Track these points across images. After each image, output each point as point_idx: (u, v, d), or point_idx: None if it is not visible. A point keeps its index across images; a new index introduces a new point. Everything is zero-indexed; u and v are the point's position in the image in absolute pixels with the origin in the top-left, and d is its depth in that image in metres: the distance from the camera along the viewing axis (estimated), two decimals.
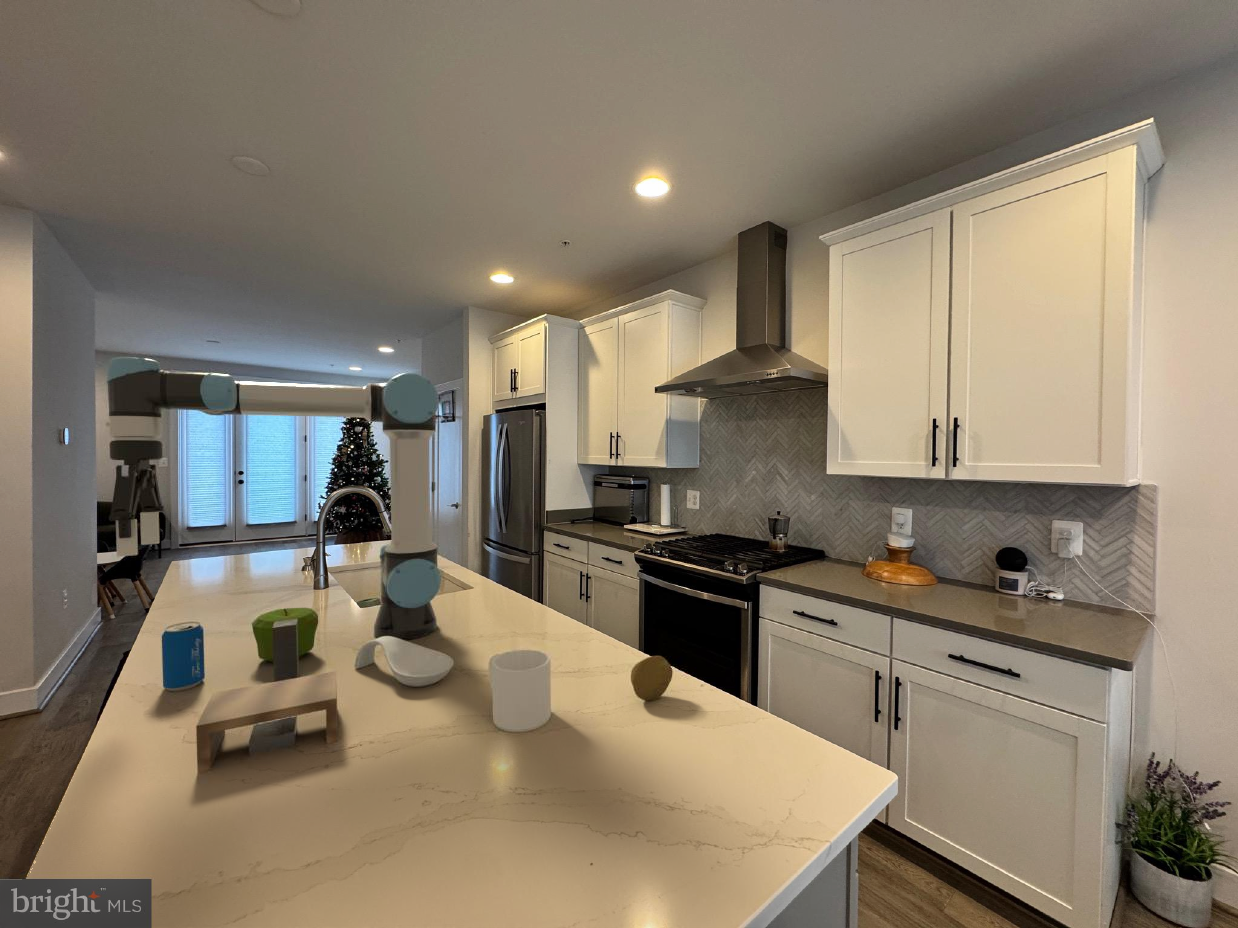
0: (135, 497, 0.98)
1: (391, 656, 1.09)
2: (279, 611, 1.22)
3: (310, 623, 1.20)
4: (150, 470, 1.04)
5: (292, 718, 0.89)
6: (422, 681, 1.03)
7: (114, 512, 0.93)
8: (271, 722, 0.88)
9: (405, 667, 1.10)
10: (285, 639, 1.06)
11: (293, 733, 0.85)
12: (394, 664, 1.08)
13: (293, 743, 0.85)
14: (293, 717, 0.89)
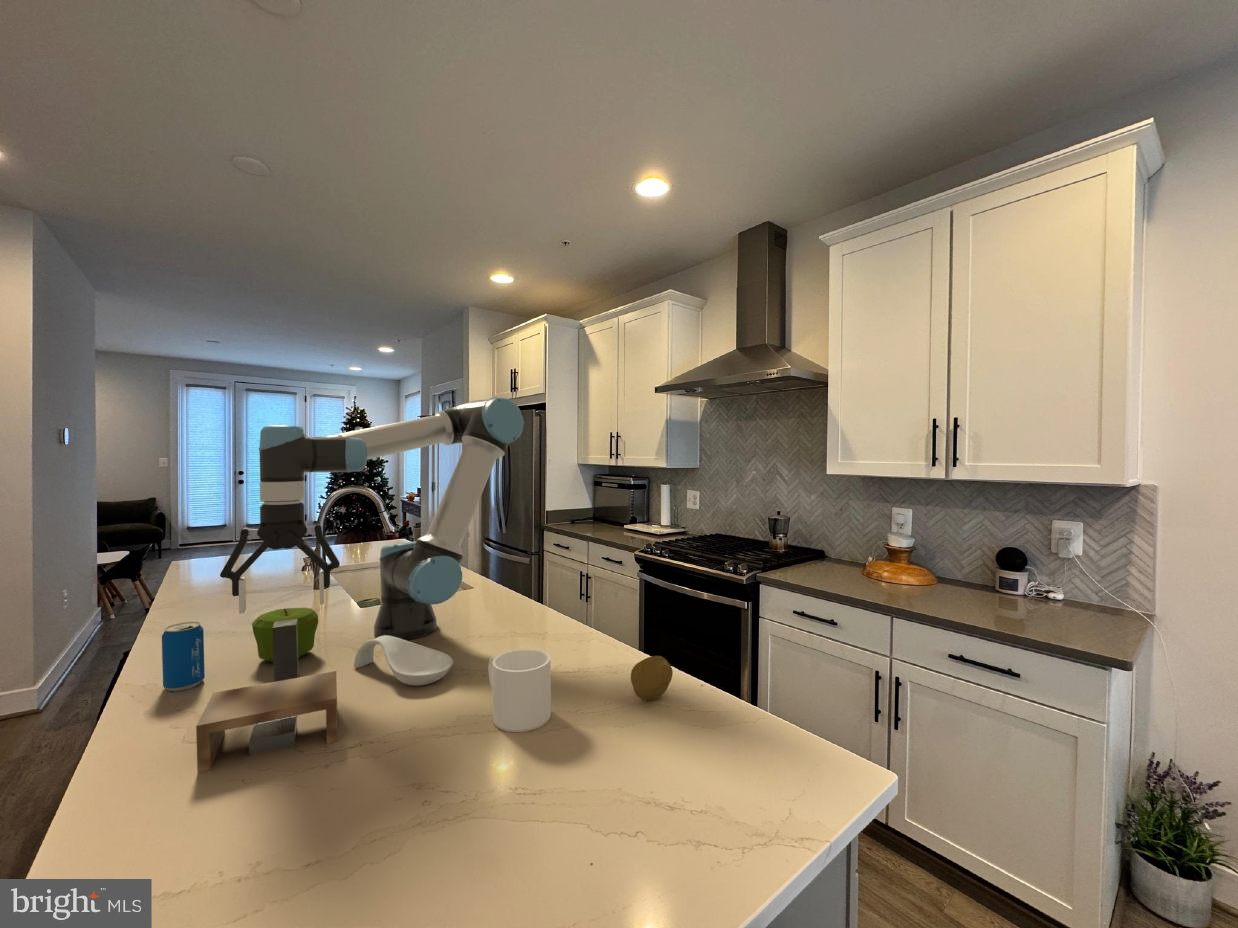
0: (247, 559, 1.04)
1: (391, 655, 1.09)
2: (279, 611, 1.22)
3: (310, 623, 1.20)
4: (287, 533, 1.06)
5: (292, 718, 0.89)
6: (422, 680, 1.04)
7: None
8: (271, 722, 0.88)
9: (405, 666, 1.10)
10: (285, 639, 1.06)
11: (293, 733, 0.85)
12: (394, 663, 1.08)
13: (293, 743, 0.85)
14: (293, 717, 0.89)
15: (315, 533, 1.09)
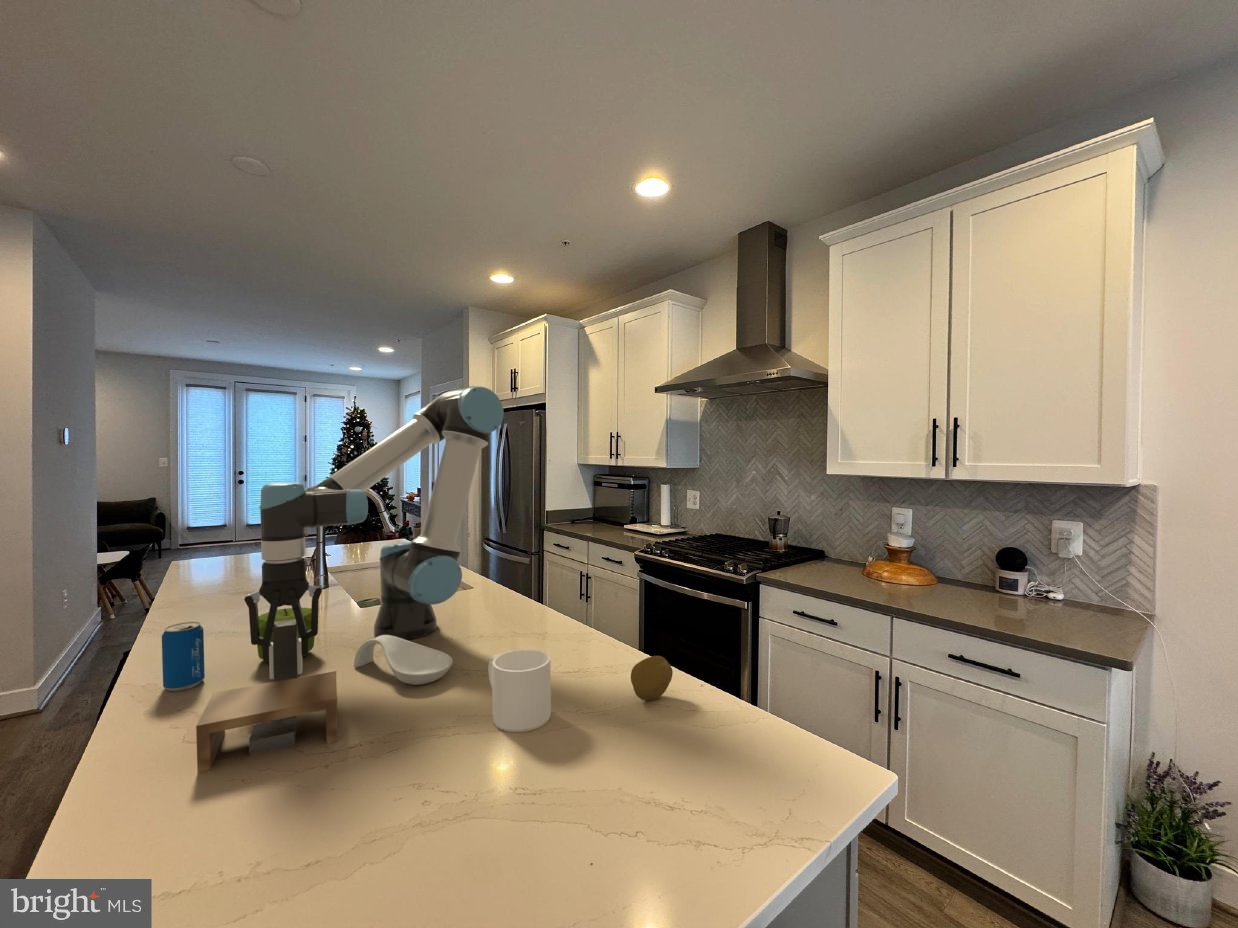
0: None
1: (390, 655, 1.10)
2: (279, 611, 1.22)
3: (310, 623, 1.20)
4: (290, 589, 1.07)
5: (292, 718, 0.89)
6: (422, 679, 1.04)
7: None
8: (271, 722, 0.88)
9: (404, 666, 1.11)
10: (285, 639, 1.06)
11: (293, 733, 0.85)
12: (393, 663, 1.09)
13: (293, 743, 0.85)
14: (293, 717, 0.89)
15: (313, 595, 1.09)
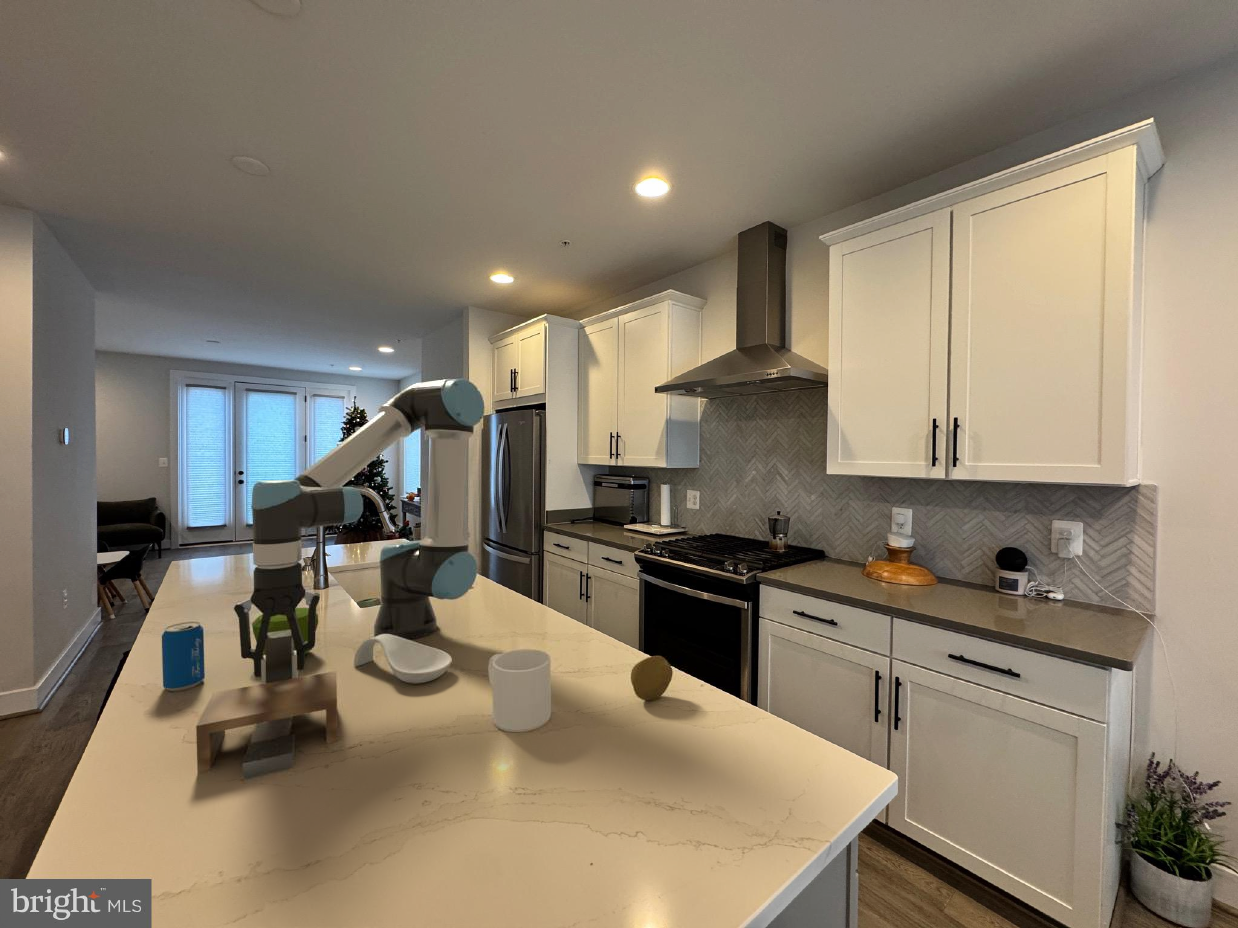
0: (258, 635, 0.96)
1: (390, 653, 1.10)
2: None
3: None
4: (285, 597, 0.97)
5: (290, 737, 0.83)
6: (421, 678, 1.05)
7: None
8: (267, 741, 0.82)
9: (404, 664, 1.11)
10: (279, 651, 0.96)
11: (290, 754, 0.79)
12: (393, 661, 1.09)
13: (290, 765, 0.79)
14: (291, 736, 0.83)
15: (310, 603, 0.99)
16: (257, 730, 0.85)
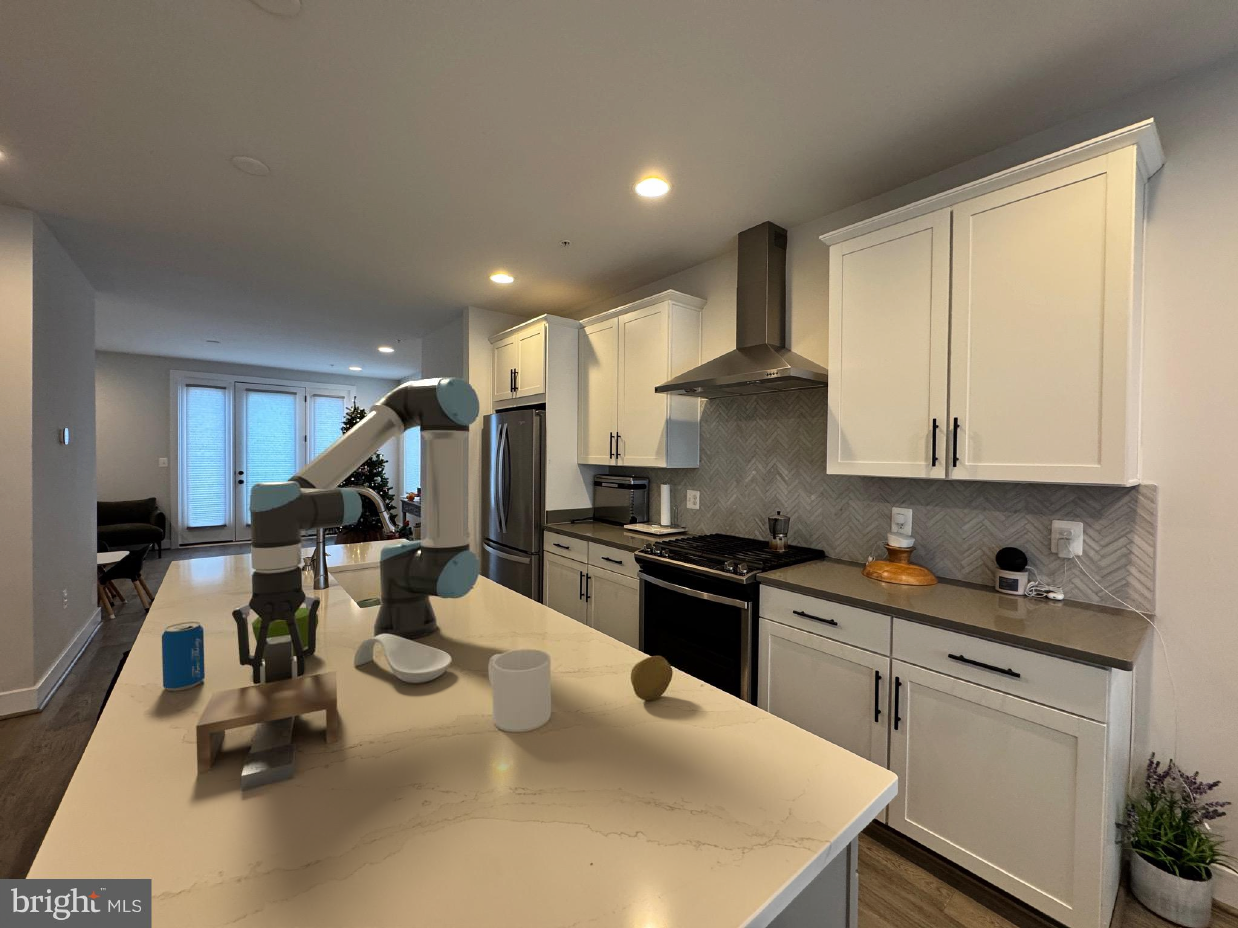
0: (257, 641, 0.93)
1: (390, 653, 1.10)
2: None
3: None
4: (284, 602, 0.94)
5: (290, 747, 0.80)
6: (421, 677, 1.05)
7: None
8: (267, 751, 0.79)
9: (404, 664, 1.12)
10: (279, 657, 0.94)
11: (291, 765, 0.76)
12: (393, 661, 1.09)
13: (291, 776, 0.76)
14: (291, 745, 0.81)
15: (310, 608, 0.97)
16: (257, 739, 0.83)
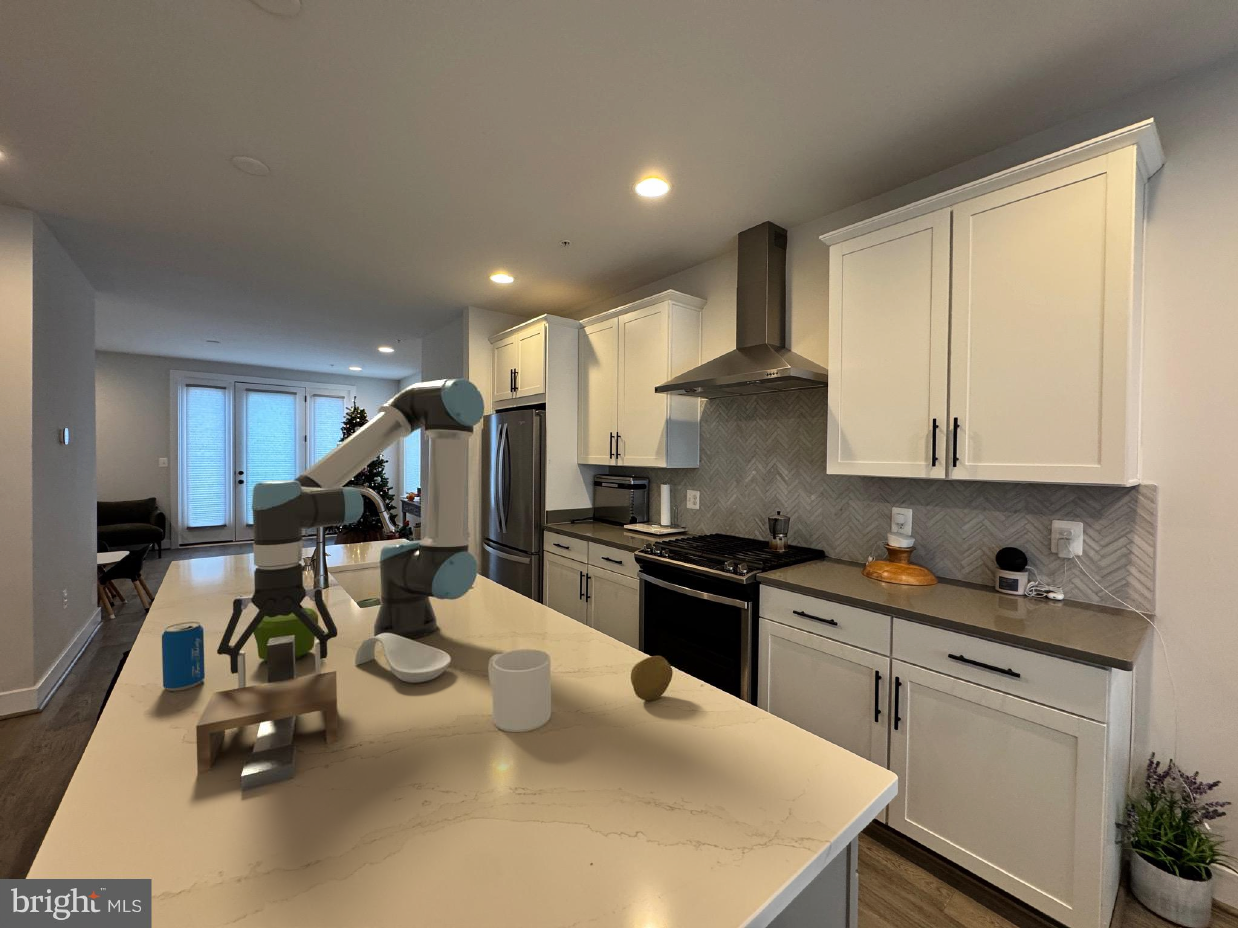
0: (244, 631, 0.95)
1: (390, 653, 1.11)
2: None
3: None
4: (284, 598, 0.97)
5: (290, 747, 0.80)
6: (419, 677, 1.05)
7: None
8: (267, 752, 0.79)
9: (404, 664, 1.12)
10: (281, 657, 0.96)
11: (291, 765, 0.76)
12: (393, 660, 1.10)
13: (291, 776, 0.76)
14: (291, 746, 0.81)
15: (314, 598, 1.00)
16: (260, 737, 0.86)
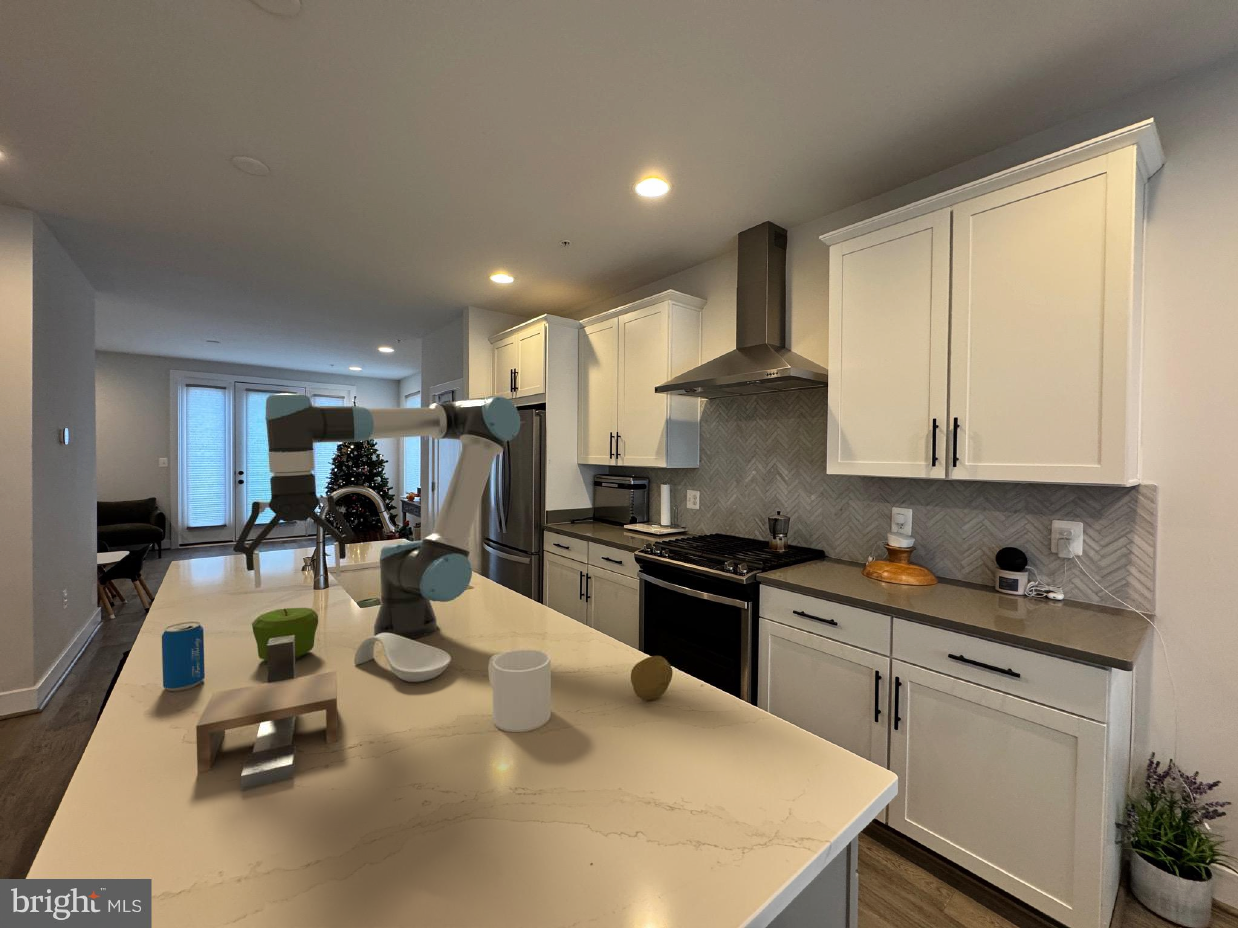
0: (261, 532, 1.01)
1: (390, 652, 1.11)
2: (279, 611, 1.22)
3: (310, 623, 1.20)
4: (299, 504, 1.03)
5: (290, 747, 0.80)
6: (420, 676, 1.05)
7: None
8: (267, 752, 0.79)
9: (403, 663, 1.12)
10: (281, 657, 0.96)
11: (291, 765, 0.76)
12: (393, 660, 1.10)
13: (291, 776, 0.76)
14: (291, 746, 0.81)
15: (328, 504, 1.06)
16: (260, 737, 0.86)
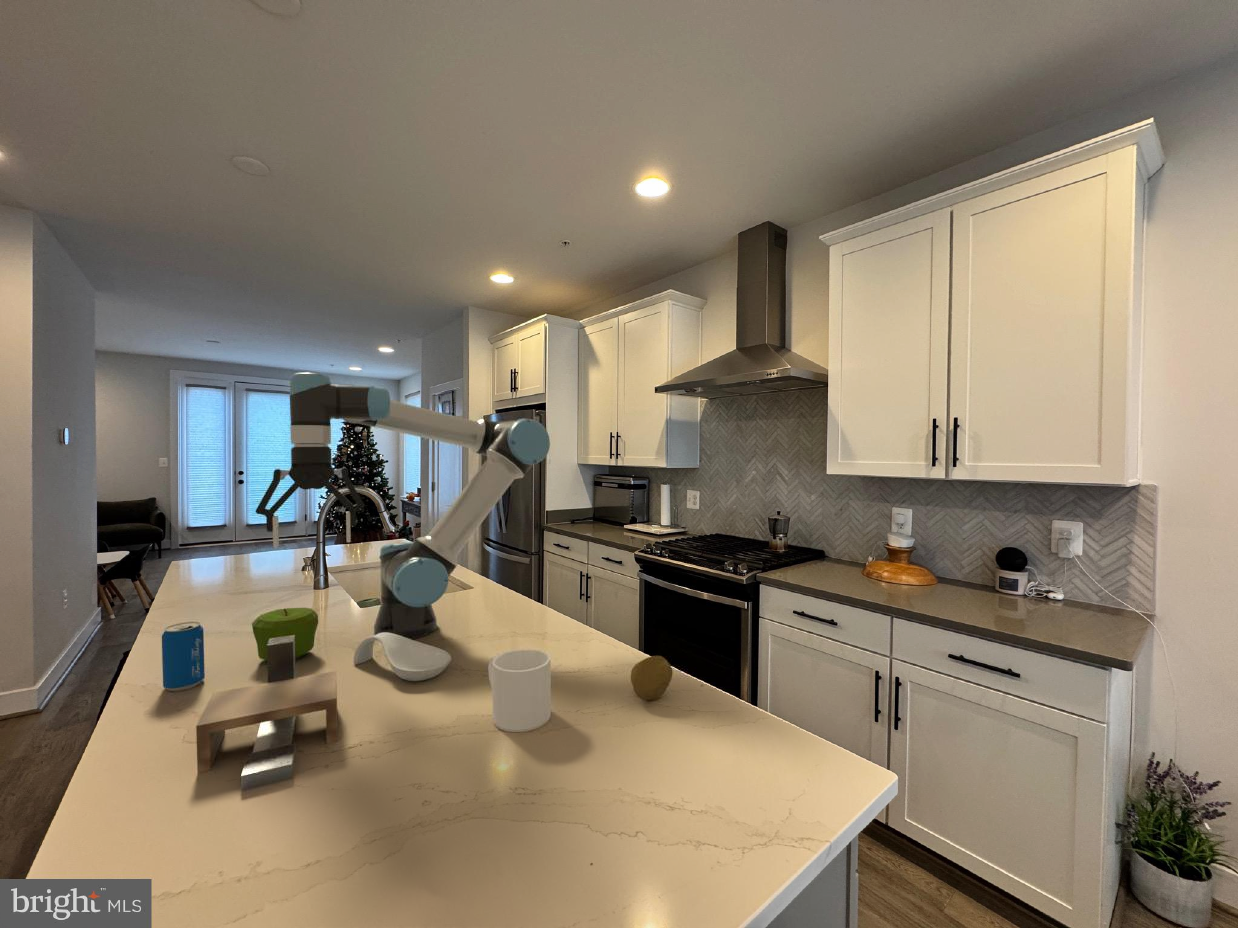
0: None
1: (390, 652, 1.11)
2: (279, 611, 1.22)
3: (310, 623, 1.20)
4: (316, 474, 1.14)
5: (290, 747, 0.80)
6: (421, 675, 1.06)
7: None
8: (267, 752, 0.79)
9: (403, 662, 1.12)
10: (281, 657, 0.96)
11: (290, 765, 0.76)
12: (393, 659, 1.10)
13: (290, 776, 0.76)
14: (291, 746, 0.81)
15: (342, 475, 1.16)
16: (260, 737, 0.86)
